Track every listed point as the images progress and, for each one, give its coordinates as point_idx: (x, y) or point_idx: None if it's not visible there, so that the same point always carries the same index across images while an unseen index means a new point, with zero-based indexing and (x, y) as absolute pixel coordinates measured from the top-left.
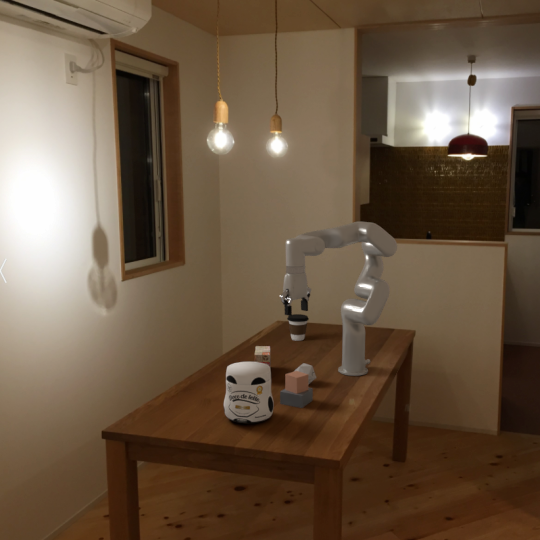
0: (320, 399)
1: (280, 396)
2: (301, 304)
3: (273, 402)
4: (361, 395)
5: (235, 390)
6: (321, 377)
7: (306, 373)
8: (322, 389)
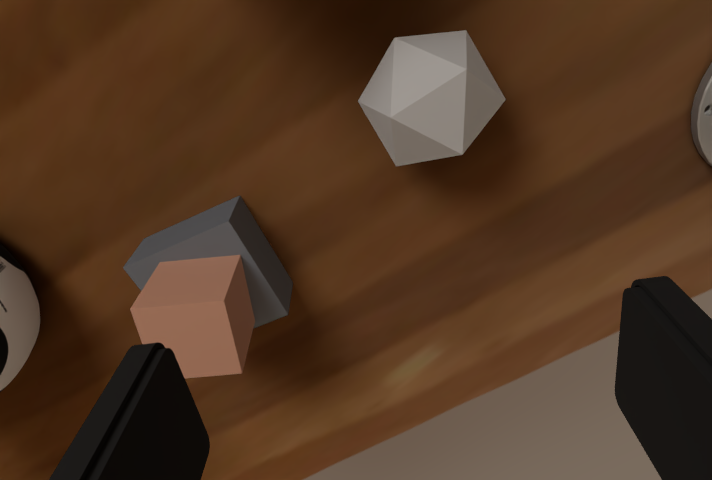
0: (328, 292)
1: (133, 256)
2: (691, 380)
3: (10, 380)
4: (494, 345)
5: None
6: (567, 63)
7: (397, 157)
8: (424, 209)
